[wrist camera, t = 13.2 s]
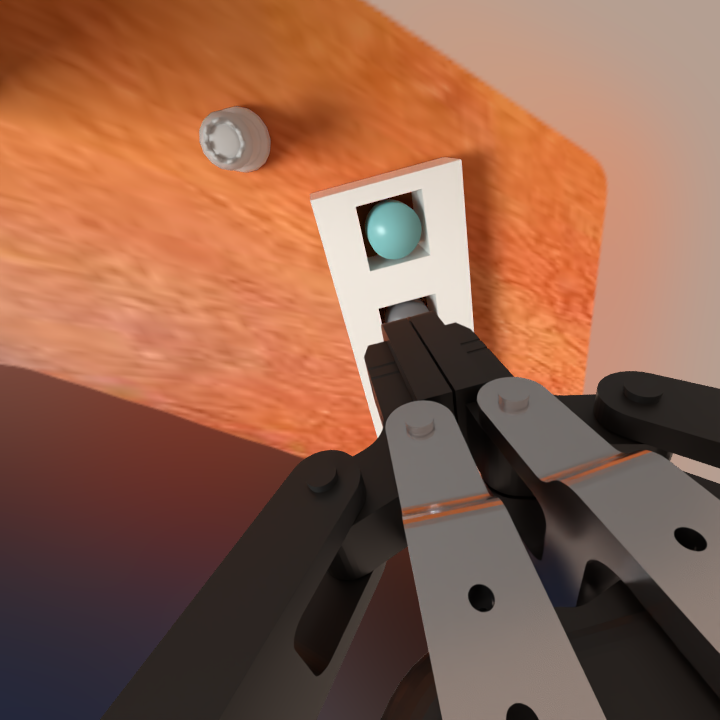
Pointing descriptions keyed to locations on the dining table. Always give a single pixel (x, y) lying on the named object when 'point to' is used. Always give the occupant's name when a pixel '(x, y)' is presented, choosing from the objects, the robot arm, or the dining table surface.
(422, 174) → the button console
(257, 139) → the rook chess piece
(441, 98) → the dining table surface
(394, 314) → the charcoal button
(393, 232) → the teal button
